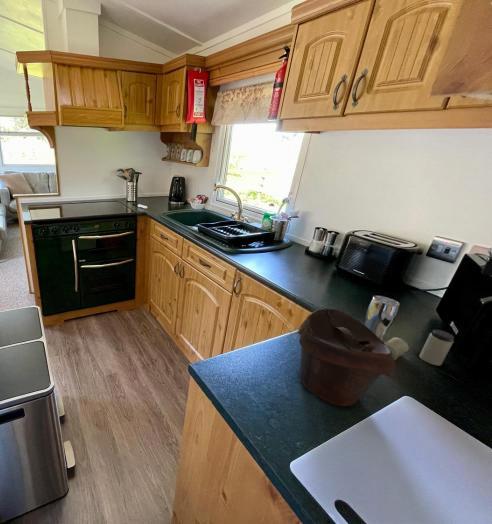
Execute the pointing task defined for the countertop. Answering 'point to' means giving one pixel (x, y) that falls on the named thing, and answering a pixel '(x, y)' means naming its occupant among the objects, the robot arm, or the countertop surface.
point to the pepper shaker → (436, 347)
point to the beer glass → (381, 315)
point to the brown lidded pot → (341, 356)
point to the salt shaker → (397, 347)
